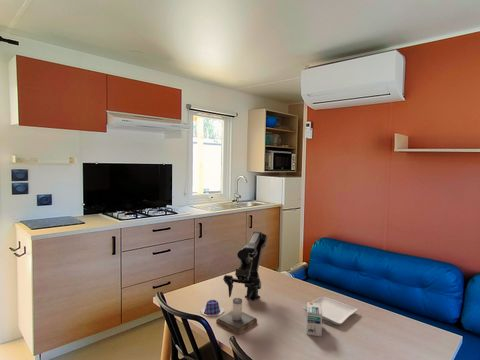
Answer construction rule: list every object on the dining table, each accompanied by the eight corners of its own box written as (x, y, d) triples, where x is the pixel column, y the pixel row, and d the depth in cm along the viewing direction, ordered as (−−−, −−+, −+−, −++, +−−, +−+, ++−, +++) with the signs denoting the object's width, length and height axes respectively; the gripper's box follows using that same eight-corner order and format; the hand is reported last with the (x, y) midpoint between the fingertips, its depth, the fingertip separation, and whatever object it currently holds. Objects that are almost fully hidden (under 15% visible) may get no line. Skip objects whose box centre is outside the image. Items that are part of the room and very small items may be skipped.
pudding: (218, 304, 168) (218, 295, 168) (227, 314, 158) (227, 304, 157) (197, 308, 163) (197, 299, 162) (205, 319, 152) (205, 309, 152)
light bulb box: (321, 337, 139) (322, 314, 138) (306, 335, 141) (307, 312, 140) (320, 324, 150) (321, 303, 149) (306, 322, 151) (307, 301, 150)
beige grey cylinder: (240, 315, 152) (241, 297, 151) (242, 320, 147) (243, 302, 147) (231, 315, 151) (232, 298, 150) (233, 320, 146) (233, 302, 146)
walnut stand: (235, 312, 159) (235, 308, 159) (256, 322, 150) (257, 317, 150) (216, 323, 148) (216, 318, 148) (237, 334, 139) (237, 329, 139)
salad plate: (358, 314, 161) (358, 308, 161) (340, 330, 146) (340, 323, 146) (321, 300, 176) (322, 295, 176) (301, 313, 160) (302, 307, 160)
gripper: (224, 259, 157) (216, 289, 147) (260, 263, 151) (254, 295, 142) (229, 269, 165) (222, 297, 155) (263, 273, 159) (257, 303, 150)
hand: (238, 298), depth 150 cm, fingers open, 9 cm apart
